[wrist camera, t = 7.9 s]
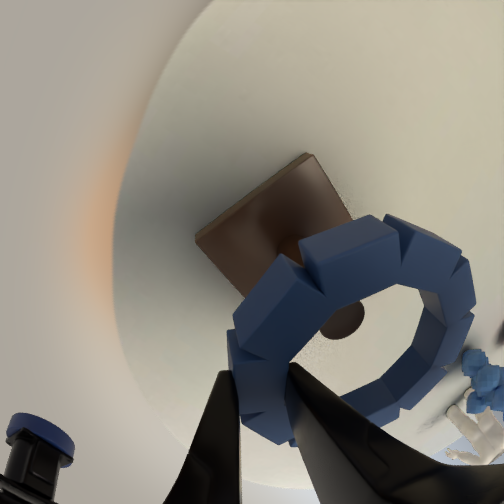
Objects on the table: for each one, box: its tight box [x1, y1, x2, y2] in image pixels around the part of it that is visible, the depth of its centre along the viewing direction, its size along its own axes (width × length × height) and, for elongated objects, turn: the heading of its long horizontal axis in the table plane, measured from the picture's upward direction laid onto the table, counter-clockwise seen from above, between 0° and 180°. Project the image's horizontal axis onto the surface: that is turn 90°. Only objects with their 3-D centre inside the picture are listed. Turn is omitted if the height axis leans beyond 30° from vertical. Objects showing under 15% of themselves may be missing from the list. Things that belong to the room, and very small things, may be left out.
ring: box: [227, 214, 476, 447], centre depth 10 cm, size 9×10×2 cm
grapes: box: [462, 349, 504, 421], centre depth 24 cm, size 12×7×12 cm, turn 52°
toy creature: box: [445, 388, 504, 465], centre depth 29 cm, size 12×6×12 cm, turn 143°
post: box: [195, 153, 365, 340], centre depth 15 cm, size 8×8×8 cm
